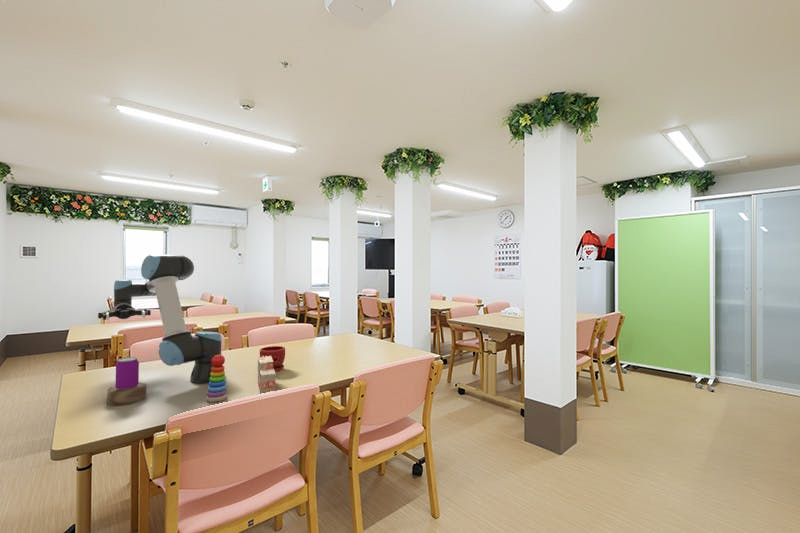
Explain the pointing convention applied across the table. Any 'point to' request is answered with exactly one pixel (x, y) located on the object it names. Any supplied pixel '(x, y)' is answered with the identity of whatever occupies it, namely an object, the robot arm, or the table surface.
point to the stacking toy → (217, 380)
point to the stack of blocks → (266, 374)
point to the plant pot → (275, 355)
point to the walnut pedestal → (126, 395)
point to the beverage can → (127, 373)
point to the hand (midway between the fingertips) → (126, 315)
